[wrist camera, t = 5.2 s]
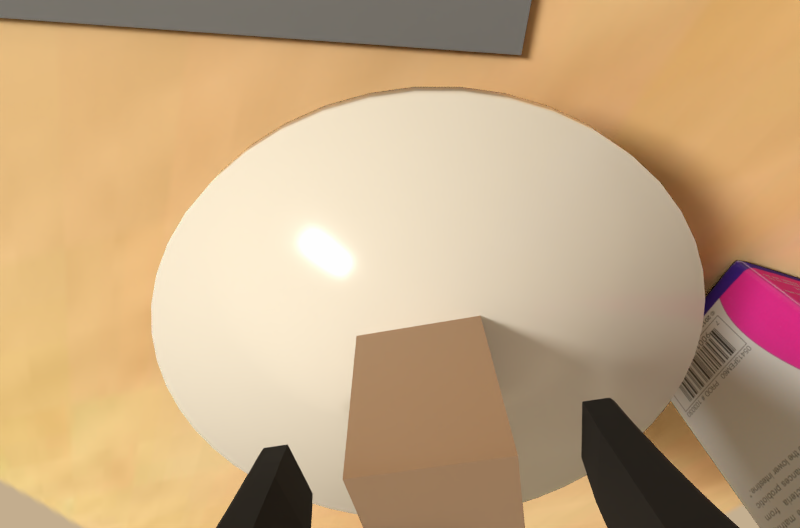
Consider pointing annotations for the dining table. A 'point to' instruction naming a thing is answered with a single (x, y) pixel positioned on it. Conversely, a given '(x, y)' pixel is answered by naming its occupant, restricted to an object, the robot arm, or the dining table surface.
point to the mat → (308, 19)
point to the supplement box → (750, 390)
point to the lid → (426, 302)
